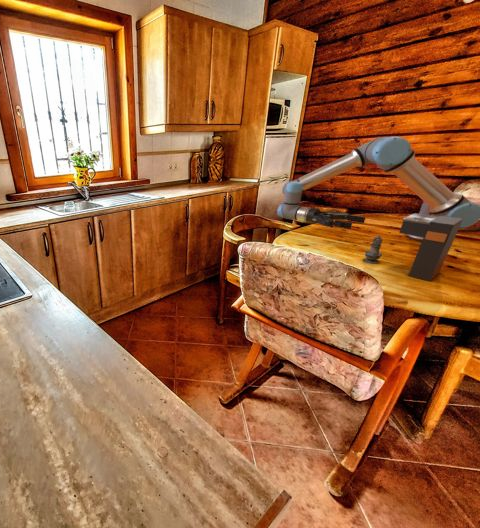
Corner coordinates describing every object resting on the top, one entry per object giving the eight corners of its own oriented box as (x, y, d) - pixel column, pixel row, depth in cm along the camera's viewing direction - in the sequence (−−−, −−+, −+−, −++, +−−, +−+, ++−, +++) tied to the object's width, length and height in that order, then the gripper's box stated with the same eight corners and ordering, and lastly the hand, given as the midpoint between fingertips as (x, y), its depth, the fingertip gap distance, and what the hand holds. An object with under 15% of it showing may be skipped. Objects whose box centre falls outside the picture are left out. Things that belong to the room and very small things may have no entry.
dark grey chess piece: (382, 264, 119) (392, 237, 114) (367, 263, 120) (375, 237, 116) (374, 258, 124) (383, 233, 120) (359, 258, 126) (367, 233, 121)
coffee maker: (396, 262, 120) (414, 212, 111) (439, 272, 110) (463, 218, 101) (384, 270, 114) (403, 218, 105) (428, 281, 104) (453, 225, 95)
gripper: (319, 217, 150) (367, 225, 133) (294, 226, 138) (343, 236, 121) (322, 203, 147) (371, 210, 130) (297, 212, 135) (347, 220, 118)
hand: (358, 223), depth 125 cm, fingers open, 13 cm apart
